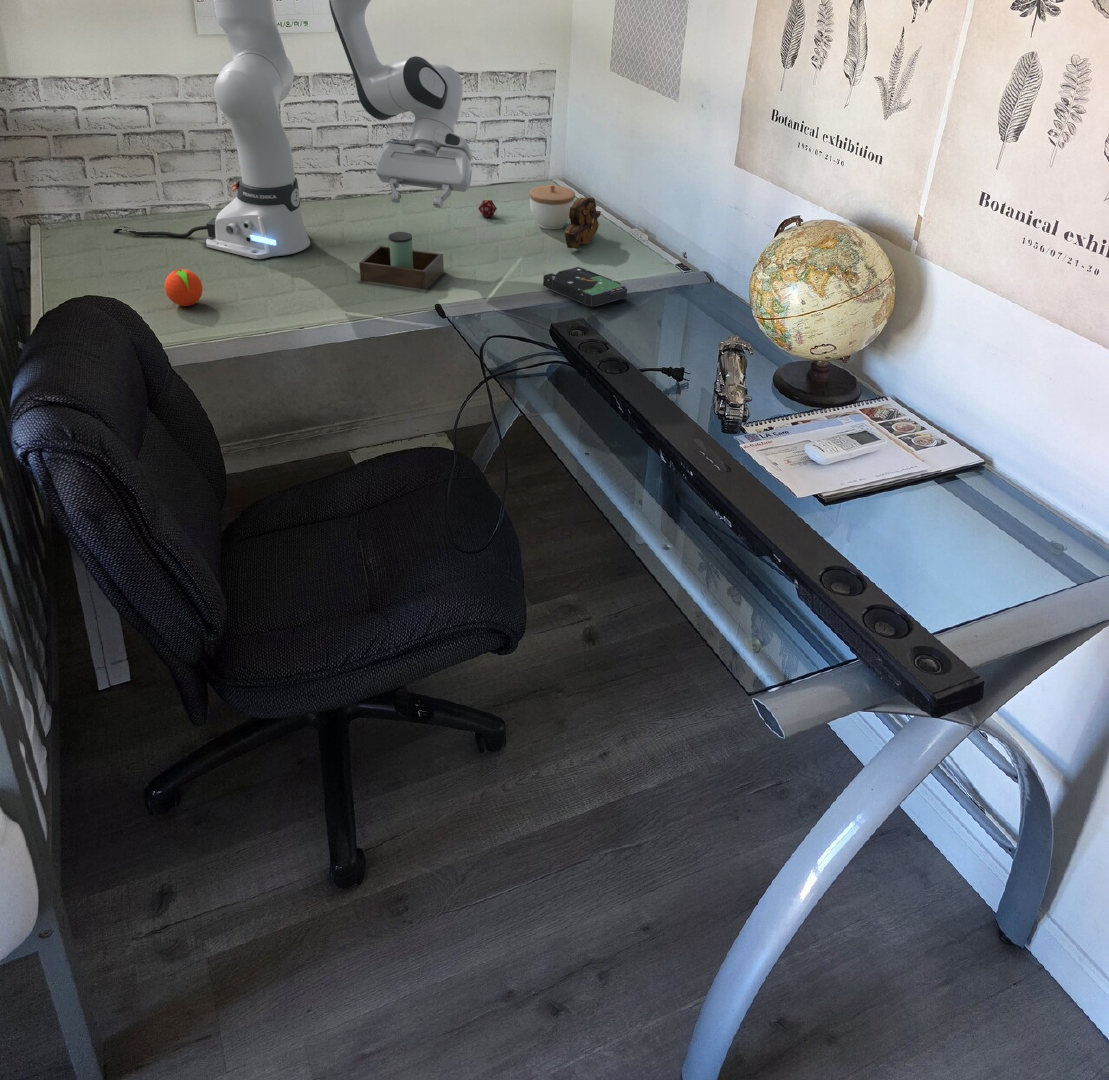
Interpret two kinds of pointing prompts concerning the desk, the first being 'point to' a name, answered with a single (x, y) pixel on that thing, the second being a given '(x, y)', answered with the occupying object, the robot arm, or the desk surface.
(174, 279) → the clementine
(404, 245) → the cylinder
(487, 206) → the dice
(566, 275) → the disk drive
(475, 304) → the desk surface
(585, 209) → the wooden carving
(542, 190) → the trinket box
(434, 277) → the walnut box
